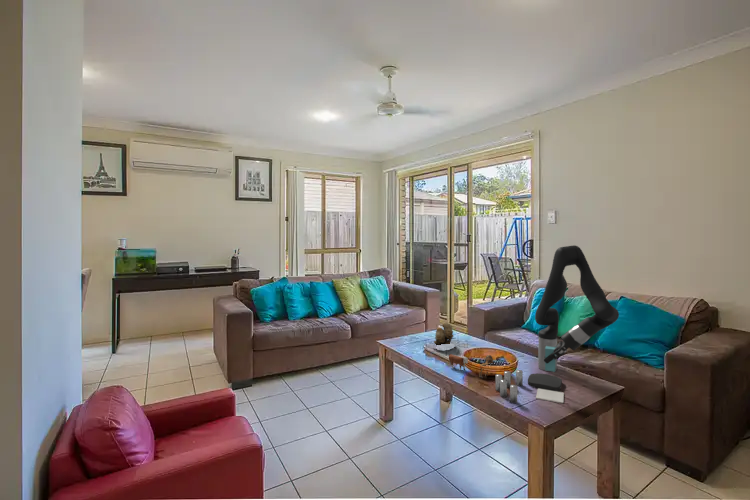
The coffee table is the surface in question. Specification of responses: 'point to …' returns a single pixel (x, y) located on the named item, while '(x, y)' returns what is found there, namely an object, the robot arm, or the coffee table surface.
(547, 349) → the teal block
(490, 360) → the lion figurine
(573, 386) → the coffee table surface
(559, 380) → the media streaming box
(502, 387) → the posts
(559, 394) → the tile
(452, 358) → the bull figurine
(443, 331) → the brown squirrel figurine
